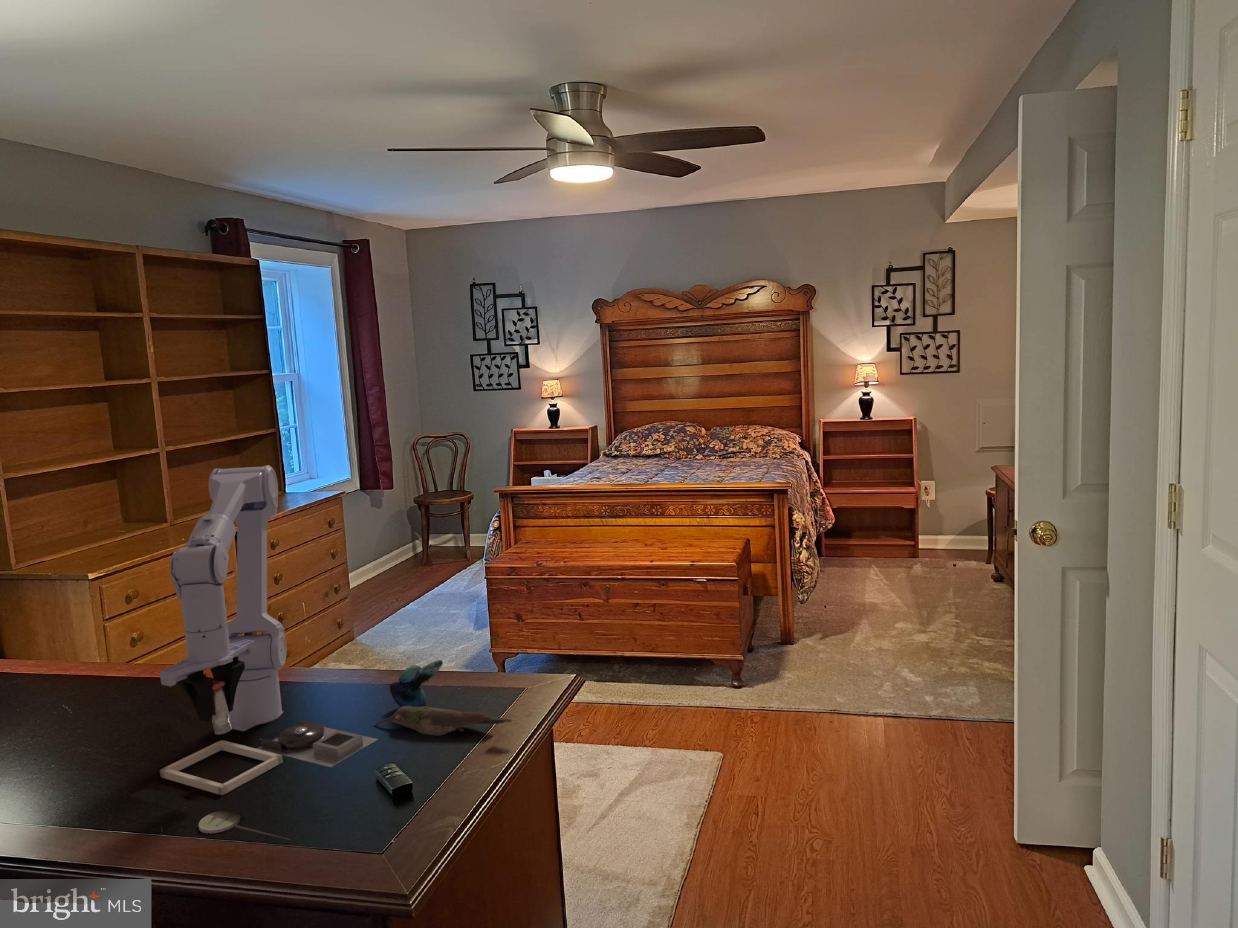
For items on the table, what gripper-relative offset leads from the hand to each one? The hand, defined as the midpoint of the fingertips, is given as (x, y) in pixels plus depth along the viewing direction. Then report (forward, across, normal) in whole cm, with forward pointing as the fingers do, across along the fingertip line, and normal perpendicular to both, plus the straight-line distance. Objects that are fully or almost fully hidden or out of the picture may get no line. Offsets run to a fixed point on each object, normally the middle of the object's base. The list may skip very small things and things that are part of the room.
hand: (216, 714), depth 129 cm
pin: (+2, 0, -1) cm, 3 cm away
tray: (+10, 0, 0) cm, 10 cm away
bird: (+10, +24, -22) cm, 34 cm away
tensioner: (+10, +12, -7) cm, 17 cm away
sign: (+10, -9, -16) cm, 21 cm away
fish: (+10, +29, -13) cm, 33 cm away
